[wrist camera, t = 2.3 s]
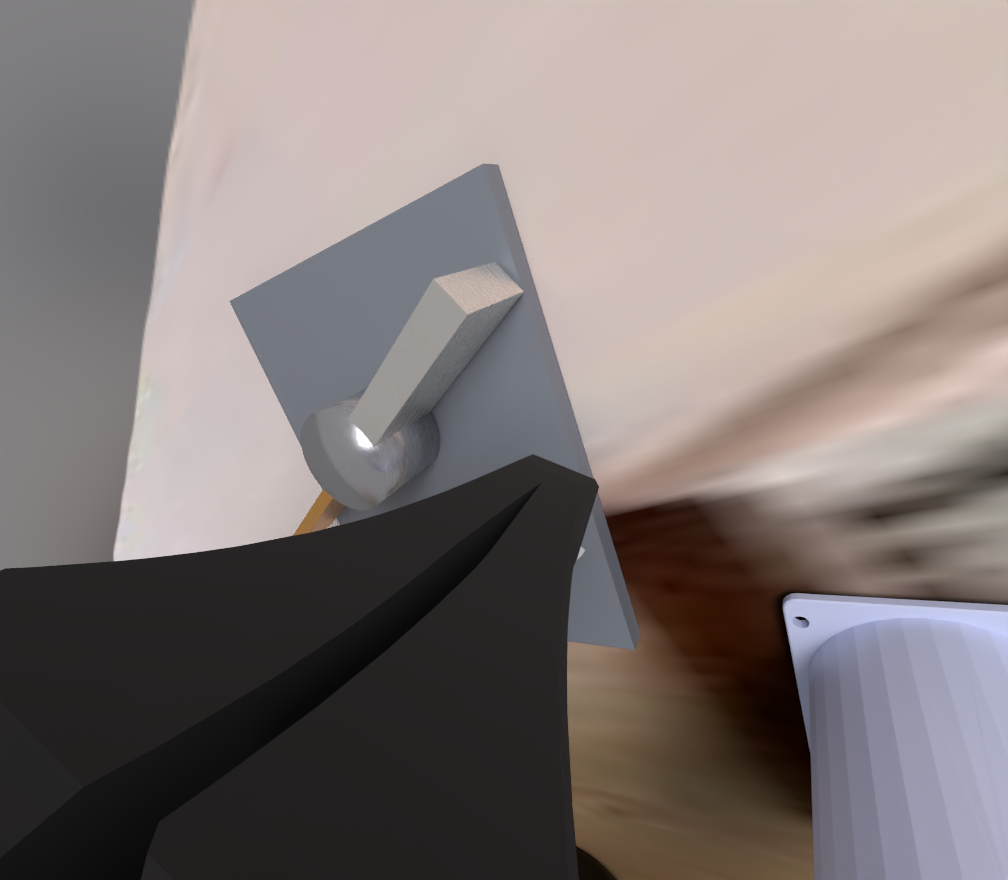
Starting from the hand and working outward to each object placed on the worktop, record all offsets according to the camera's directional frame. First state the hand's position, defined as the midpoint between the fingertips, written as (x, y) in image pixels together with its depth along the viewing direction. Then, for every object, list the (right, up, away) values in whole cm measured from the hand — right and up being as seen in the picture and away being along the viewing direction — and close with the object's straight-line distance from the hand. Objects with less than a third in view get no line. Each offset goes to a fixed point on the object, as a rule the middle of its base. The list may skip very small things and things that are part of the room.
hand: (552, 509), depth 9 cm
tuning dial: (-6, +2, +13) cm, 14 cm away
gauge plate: (-4, +1, +14) cm, 15 cm away
